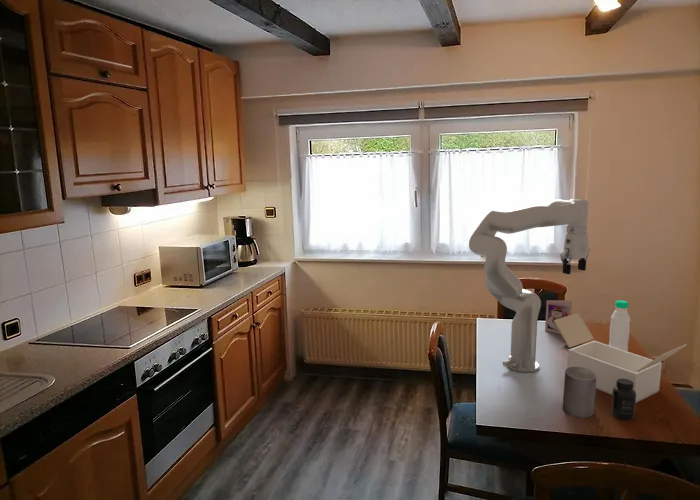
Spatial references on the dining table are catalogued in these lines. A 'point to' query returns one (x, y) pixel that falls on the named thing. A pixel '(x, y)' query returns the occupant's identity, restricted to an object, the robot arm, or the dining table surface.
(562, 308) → the greeting card
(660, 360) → the near flap
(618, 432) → the dining table surface
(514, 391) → the dining table surface
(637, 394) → the carton
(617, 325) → the water bottle
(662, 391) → the dining table surface
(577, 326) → the far flap
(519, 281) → the robot arm
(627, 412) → the supplement bottle
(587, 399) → the pillar candle
